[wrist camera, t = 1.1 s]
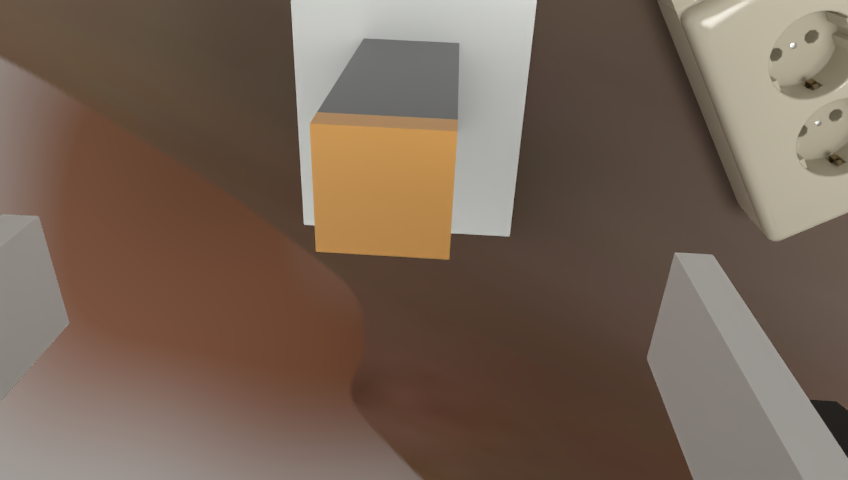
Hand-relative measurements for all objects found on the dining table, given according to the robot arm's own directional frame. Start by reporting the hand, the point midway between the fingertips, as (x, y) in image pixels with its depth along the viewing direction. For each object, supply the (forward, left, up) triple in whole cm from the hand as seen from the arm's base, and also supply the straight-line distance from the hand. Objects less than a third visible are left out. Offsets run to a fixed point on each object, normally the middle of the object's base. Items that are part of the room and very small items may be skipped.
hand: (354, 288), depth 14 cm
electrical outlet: (+4, -14, -17) cm, 23 cm away
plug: (0, 0, -16) cm, 16 cm away
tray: (0, 0, -17) cm, 17 cm away
